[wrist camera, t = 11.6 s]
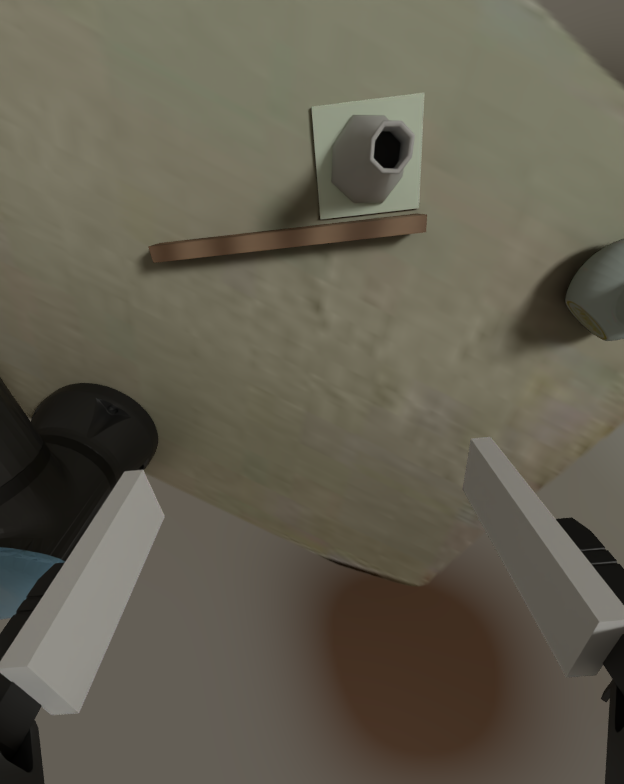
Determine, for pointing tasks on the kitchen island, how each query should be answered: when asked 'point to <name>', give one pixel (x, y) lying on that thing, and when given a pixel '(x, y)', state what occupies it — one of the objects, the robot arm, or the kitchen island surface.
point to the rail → (289, 237)
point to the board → (329, 128)
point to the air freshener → (600, 293)
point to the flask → (371, 157)
